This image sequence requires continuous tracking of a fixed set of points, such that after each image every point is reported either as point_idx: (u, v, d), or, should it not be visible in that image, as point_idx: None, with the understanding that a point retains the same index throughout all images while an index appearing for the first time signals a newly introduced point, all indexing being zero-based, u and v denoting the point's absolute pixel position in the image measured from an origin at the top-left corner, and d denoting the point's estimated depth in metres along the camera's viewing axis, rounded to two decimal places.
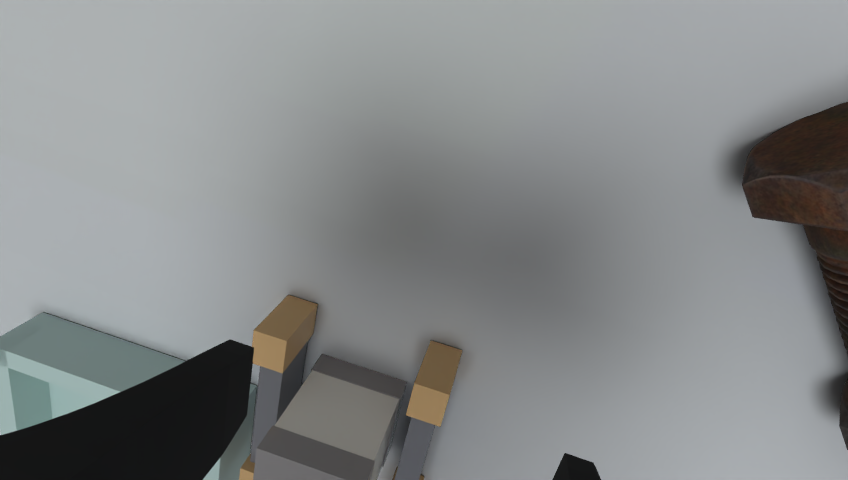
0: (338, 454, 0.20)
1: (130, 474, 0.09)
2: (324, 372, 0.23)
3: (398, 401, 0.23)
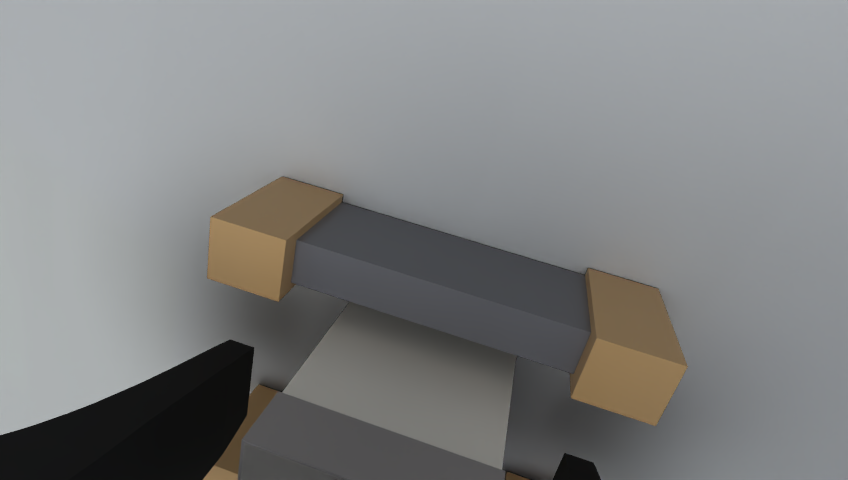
0: None
1: (130, 474, 0.09)
2: None
3: None
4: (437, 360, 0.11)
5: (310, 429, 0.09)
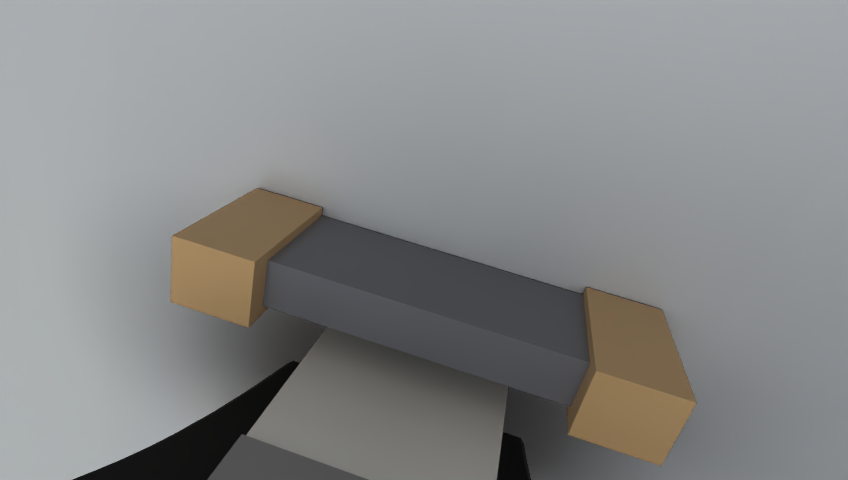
0: None
1: None
2: None
3: None
4: (422, 391, 0.10)
5: (275, 479, 0.08)
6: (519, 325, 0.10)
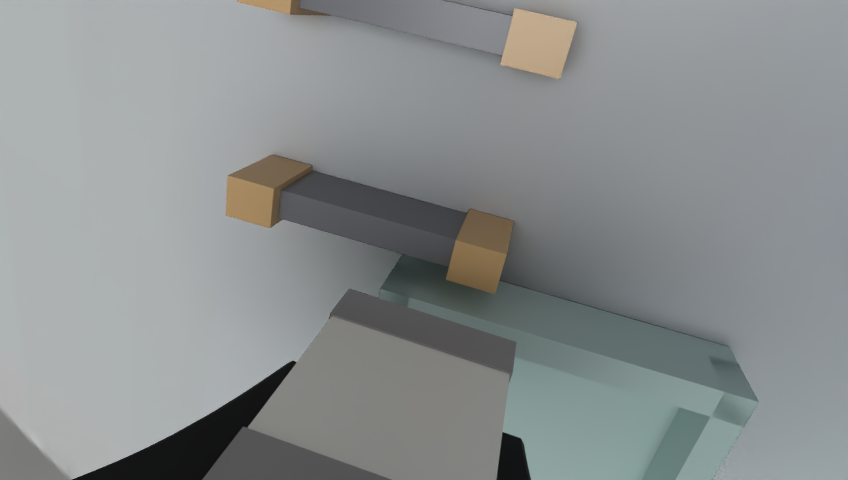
0: None
1: None
2: None
3: (334, 318, 0.12)
4: (422, 385, 0.10)
5: (277, 471, 0.08)
6: None
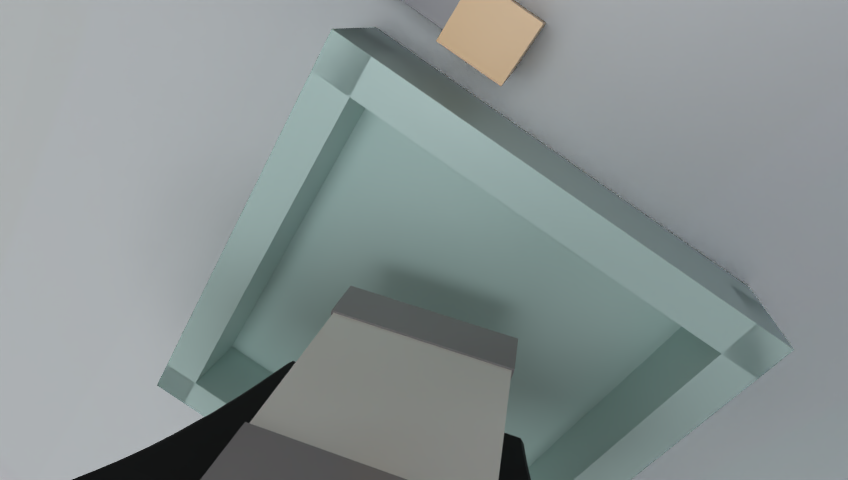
0: None
1: None
2: None
3: (336, 314, 0.12)
4: (424, 382, 0.10)
5: (279, 466, 0.08)
6: None
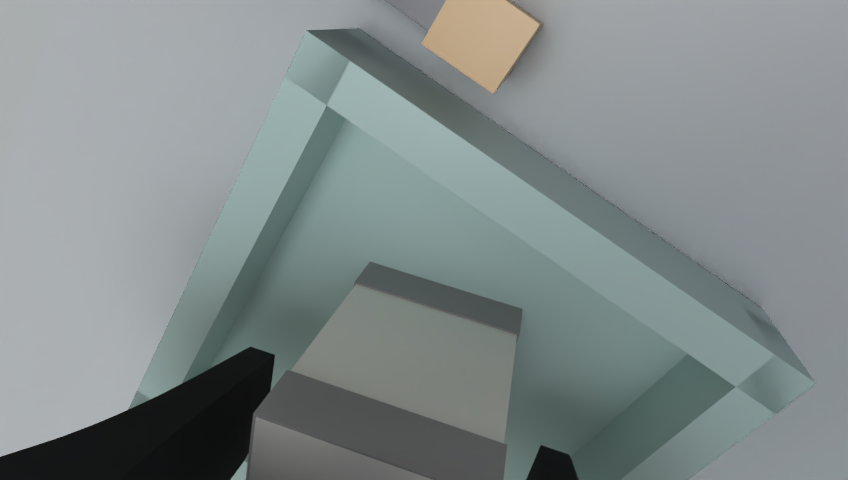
0: None
1: None
2: None
3: (358, 285, 0.13)
4: (440, 342, 0.12)
5: (318, 404, 0.09)
6: None
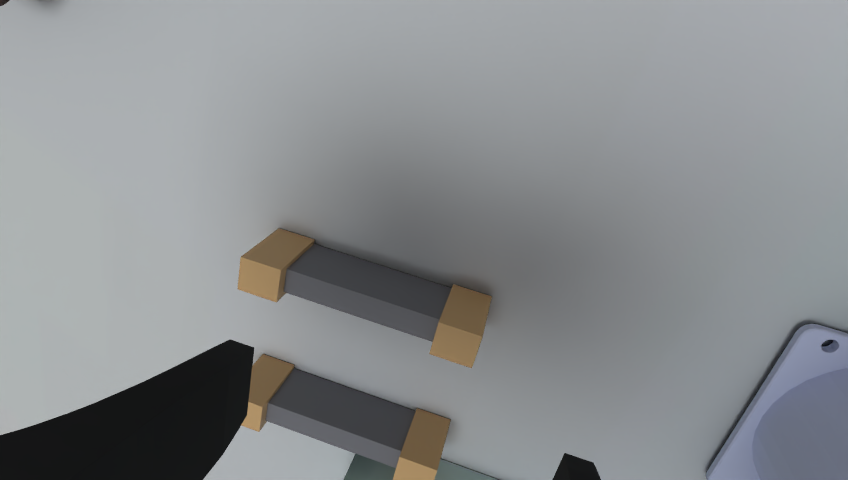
0: None
1: (130, 474, 0.09)
2: None
3: None
4: None
5: None
6: (410, 302, 0.20)
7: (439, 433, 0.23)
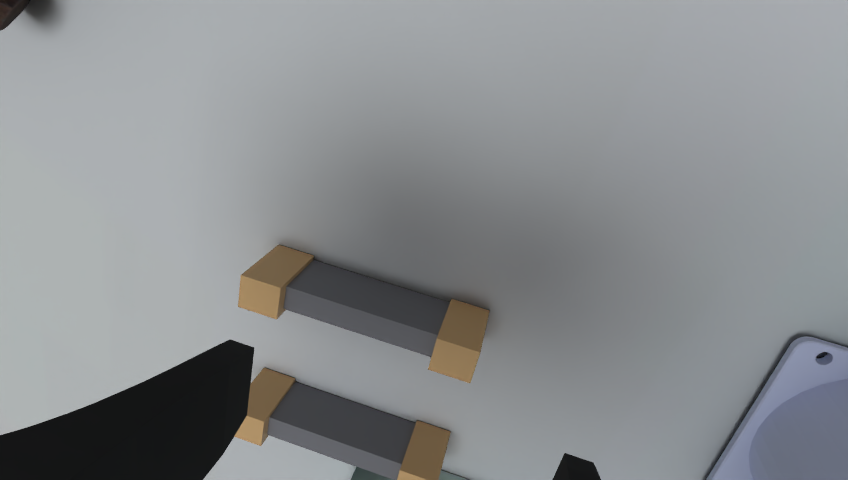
0: None
1: (130, 474, 0.09)
2: None
3: None
4: None
5: None
6: (408, 318, 0.20)
7: (439, 445, 0.23)
